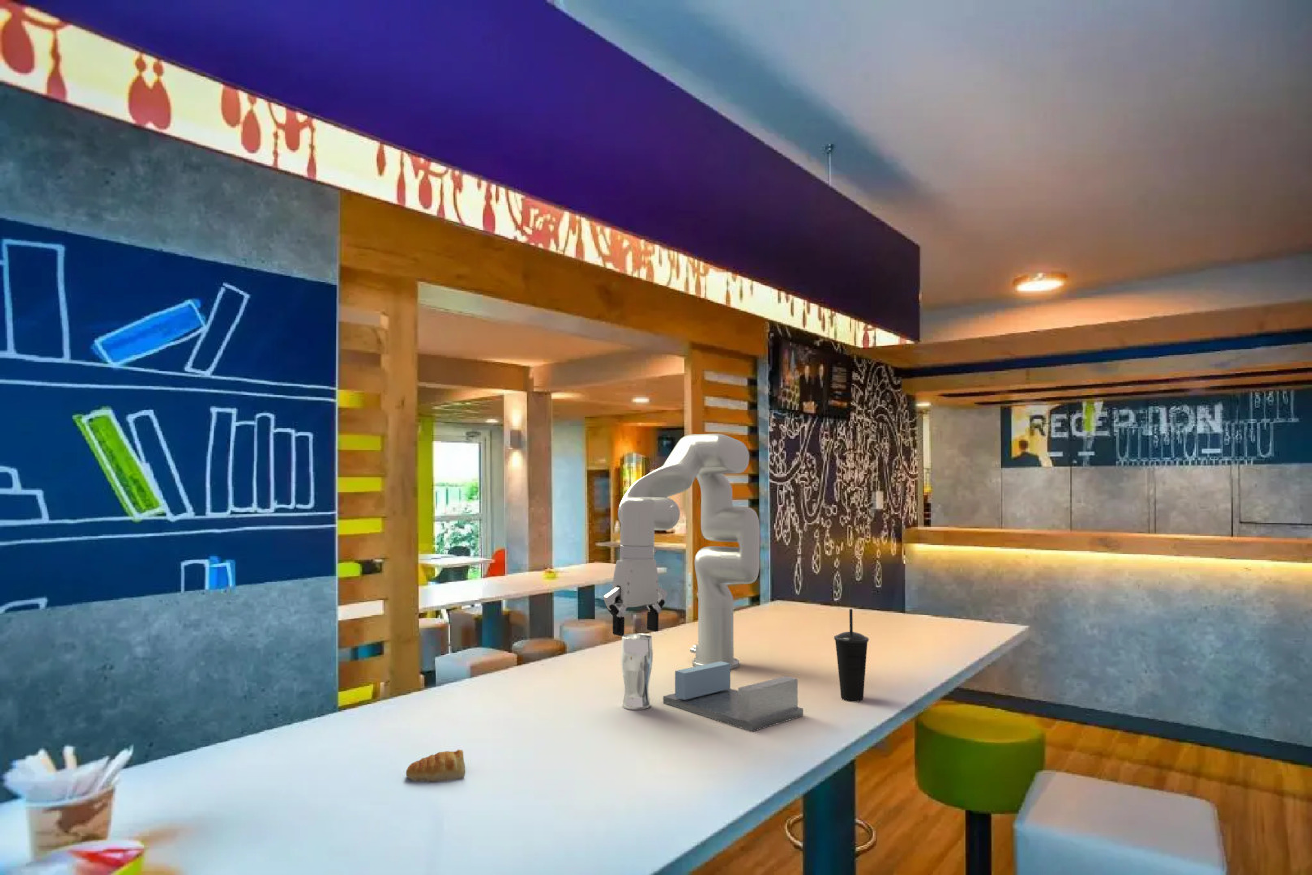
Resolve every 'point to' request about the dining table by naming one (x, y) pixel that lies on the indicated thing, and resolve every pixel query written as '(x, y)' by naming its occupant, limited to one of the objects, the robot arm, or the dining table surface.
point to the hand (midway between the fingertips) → (635, 632)
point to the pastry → (438, 767)
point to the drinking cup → (851, 662)
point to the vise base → (726, 709)
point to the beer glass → (636, 670)
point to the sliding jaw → (702, 680)
